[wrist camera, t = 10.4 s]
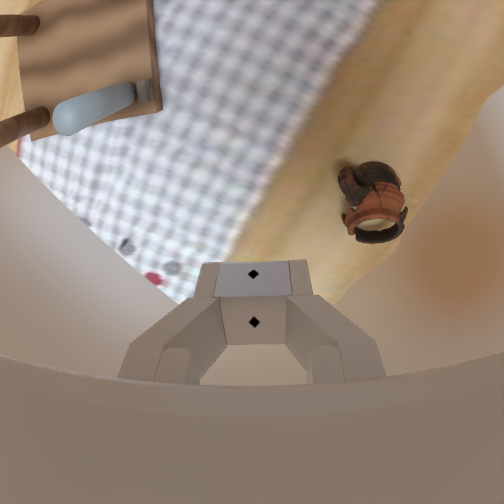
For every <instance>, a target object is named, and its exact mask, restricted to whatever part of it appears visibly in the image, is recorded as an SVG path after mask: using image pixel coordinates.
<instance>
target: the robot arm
mask: <svg viewBox="0 0 504 504" xmlns="http://www.w3.org/2000/svg"><path fill="white" fill-rule="evenodd" d="M246 344H286V346H287V347H288V349H289V350H290V352H291V353H292V354H293V355H294V357H295V358H296V359H297V360H298V362H299V363H300V364H301V365H302V367H303V368H304V369H305V370H306V372H307V380H306V384H301V385H276V386H215V385H200V382H199V380H200V379H201V378H202V376H203V375H204V374H205V373H206V372H207V370H208V369H209V368H210V367H211V366H212V364H213V363H214V362H215V361H216V359H217V358H218V357H219V356H220V354H221V353H222V352H223V351H224V350H225V348H226V347H227V345H246ZM0 504H504V352H501V353H498V354H494V355H490V356H487V357H482V358H478V359H474V360H470V361H466V362H462V363H457V364H453V365H448V366H443V367H439V368H433V369H428V370H423V371H417V372H411V373H405V374H399V375H392V376H386V373H385V370H384V366H383V363H382V360H381V356H380V353H379V350H378V347H377V343H376V341H375V340H374V339H373V338H372V337H370V336H369V335H368V334H367V333H366V332H364V331H363V330H362V329H360V328H359V327H358V326H357V325H356V324H354V323H353V322H352V321H350V320H349V319H348V318H347V317H346V316H344V315H343V314H342V313H341V312H339V311H338V310H337V309H336V308H334V307H333V306H332V305H331V304H329V303H328V302H327V301H326V300H324V299H323V298H322V297H321V296H319V295H313V291H312V285H311V280H310V275H309V270H308V265H307V261H306V260H305V259H300V260H289V261H271V262H221V263H220V262H207V263H203V264H202V266H201V269H200V273H199V277H198V281H197V284H196V288H195V292H194V295H193V298H187V299H186V300H185V301H183V302H182V303H181V304H180V305H178V306H177V307H176V308H175V309H173V310H172V311H171V312H169V313H168V314H167V315H166V316H165V317H163V318H162V319H161V320H159V321H158V322H157V323H155V324H154V325H153V326H152V327H151V328H149V329H148V330H147V331H145V332H144V333H143V334H142V335H140V336H139V337H138V338H136V339H135V340H134V341H133V342H131V343H130V344H129V347H128V350H127V352H126V355H125V357H124V360H123V363H122V366H121V368H120V371H119V374H118V377H117V378H115V377H107V376H99V375H94V374H87V373H81V372H75V371H70V370H64V369H59V368H54V367H49V366H44V365H40V364H35V363H31V362H27V361H22V360H18V359H14V358H10V357H7V356H3V355H0Z"/></svg>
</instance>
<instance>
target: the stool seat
mask: <svg viewBox="0 0 504 504" xmlns="http://www.w3.org/2000/svg"><path fill="white" fill-rule="evenodd" d="M10 36H17V42H18V57H19V68H20V77H21V85H22V92H23V99H24V105H25V111H26V112H24V113H21V114H18V115H16V116H13V117H11V118H8V119H5V120H3V121H0V148H1V147H2V146H5V145H7V144H9V143H11V142H13V141H15V140H17V139H19V138H21V137H23V136H25V135H27V134H29V133H30V137H31V142H32V141H35V140H38V139H41V138H45V137H48V136H51V135H55V134H59V133H58V132H57V131H56V129H55V127H54V125H53V121H52V116H53V112H54V109H55V108H56V106H57V105H58V104H59V103H61V102H63V101H66V100H68V99H71V98H74V97H77V96H80V95H83V94H86V93H89V92H92V91H95V90H98V89H101V88H105V87H108V86H111V85H115V84H118V83H122V82H126V83H129V84H131V85H132V86H133V87H134V89H135V99H134V101H133V103H132V104H131V105H129V106H128V107H125V108H123V109H121V110H119V111H117V112H115V113H113V114H111V115H109V116H107V117H105V118H103V119H101V120H99V121H97V122H95V123H93V124H91V125H94V124H99V123H103V122H108V121H113V120H117V119H123V118H128V117H133V116H139V115H145V114H151V113H157V112H159V111H161V110H163V108H162V100H161V92H160V83H159V73H158V63H157V52H156V41H155V28H154V14H153V0H45V1H43V2H41V3H39V4H37V5H35V6H33V7H32V8H30V9H28V10H26V11H24V12H23V13H21V14H19V15H0V37H10ZM89 126H90V125H89Z"/></svg>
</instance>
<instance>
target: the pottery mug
mask: <svg viewBox="0 0 504 504" xmlns="http://www.w3.org/2000/svg"><path fill="white" fill-rule="evenodd" d="M361 167H362V171H361V170H356V169H354V168H353V167H345V168H343V169H342V170H341V171H340V173H339V175H338V182H339V186H340V188H341V190H342V191H343V193H344V194H345V195H346V199H347V201H348V202H349V204H350V205H352V206H357V209H356V210H354V209H353V208H350V209H349V211H348V213H347V215H342V220H343V223H344V224H345V226H346V227H347V228H348V230H347V231H348V234H349V235H354V234H356V241H358V242H362V243H369V244H375V243H384V242H387V241H390V240H393V239H395V238H397V237H398V236H399V235H400V234H401V233H402V232H403V230H404V227H405V225H404V224H403V222H404V220H405V218H406V215H407V212H408V208H407V206H406V207H405V208H404V210H403V211H402V212H400V211H401V209H402V207H403V204H404V202H405V200H404V195H403V194H402V192H401V191H400V186H401V182H400V180H399V178H398V177H397V175H396V173H395V172H394V170H393V169H392V168H390V167H389V166H387V165H385V164H383V163H377V162H369V163H364V164H361ZM370 184H372V185H373V187H374V188H375V190H369V187H368V186H369V185H370ZM399 212H400V213H399ZM371 219H388V220H391V221H394V222H395V224H394V225H393V226H392V227H390V228H387V229H384V230H381V231H378V230H373V231H365V230H362V229H359V228H357V227H356V226H357V225H358V224H360V223H361V222H363V221H366V220H371Z"/></svg>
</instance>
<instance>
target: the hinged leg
mask: <svg viewBox="0 0 504 504" xmlns="http://www.w3.org/2000/svg"><path fill="white" fill-rule="evenodd" d="M134 99H135V89H134V87H133V86H132V85H131V84H129V83H126V82H122V83H118V84H115V85H111V86H108V87H105V88H101V89H98V90H95V91H92V92H89V93H86V94H83V95H80V96H77V97H74V98H71V99H68V100H66V101H63V102H61V103H59V104H58V105H57V106H56V108H55V109H54V112H53V116H52V121H53V125H54V127H55V129H56V131H57V132H58V133H60V134H61V135H64V136H71V135H73V134H75V133H77V132H78V131H80V130H82V129H84V128H86V127H88V126H89V125H91V124H93V123H95V122H97V121H99V120H101V119H103V118H105V117H107V116H109V115H111V114H113V113H115V112H117V111H119V110H121V109H123V108H125V107H128V106H129V105H131V104H132V103H133V101H134Z"/></svg>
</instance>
